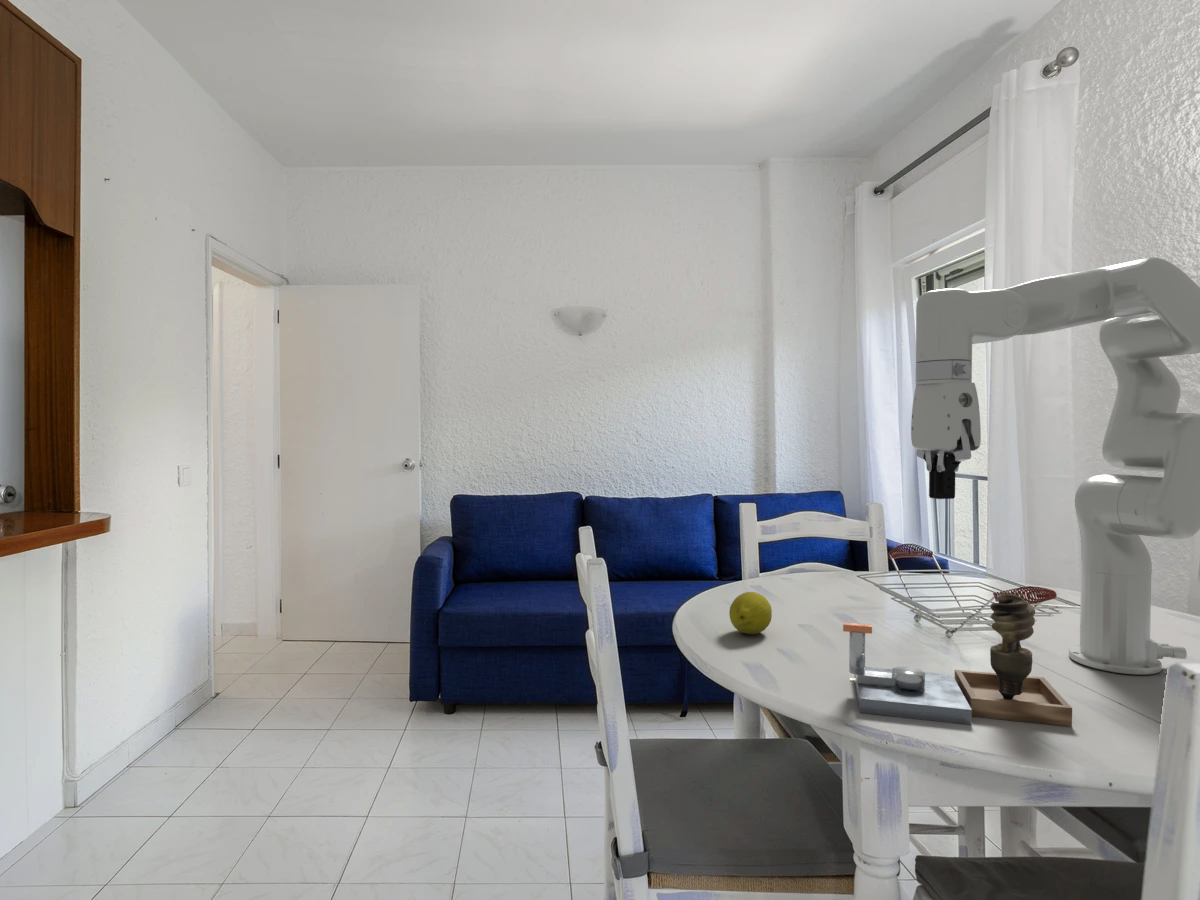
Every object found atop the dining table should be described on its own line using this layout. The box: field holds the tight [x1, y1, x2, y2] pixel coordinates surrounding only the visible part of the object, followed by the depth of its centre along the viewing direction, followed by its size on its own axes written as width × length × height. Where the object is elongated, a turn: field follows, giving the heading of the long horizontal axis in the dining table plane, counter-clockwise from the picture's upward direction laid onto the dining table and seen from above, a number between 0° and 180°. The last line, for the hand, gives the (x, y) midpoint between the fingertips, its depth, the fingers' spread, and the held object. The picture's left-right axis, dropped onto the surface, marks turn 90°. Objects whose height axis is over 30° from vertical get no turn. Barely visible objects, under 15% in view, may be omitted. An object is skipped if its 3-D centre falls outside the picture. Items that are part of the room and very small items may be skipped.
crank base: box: [849, 666, 973, 726], centre depth 103 cm, size 15×14×2 cm
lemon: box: [728, 591, 773, 635], centre depth 136 cm, size 11×8×8 cm
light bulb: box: [989, 593, 1036, 699], centre depth 100 cm, size 6×6×15 cm
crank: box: [842, 622, 925, 690], centre depth 103 cm, size 11×4×8 cm, turn 72°
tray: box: [954, 669, 1073, 728], centre depth 100 cm, size 12×12×2 cm
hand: (941, 498), depth 105 cm, fingers closed
